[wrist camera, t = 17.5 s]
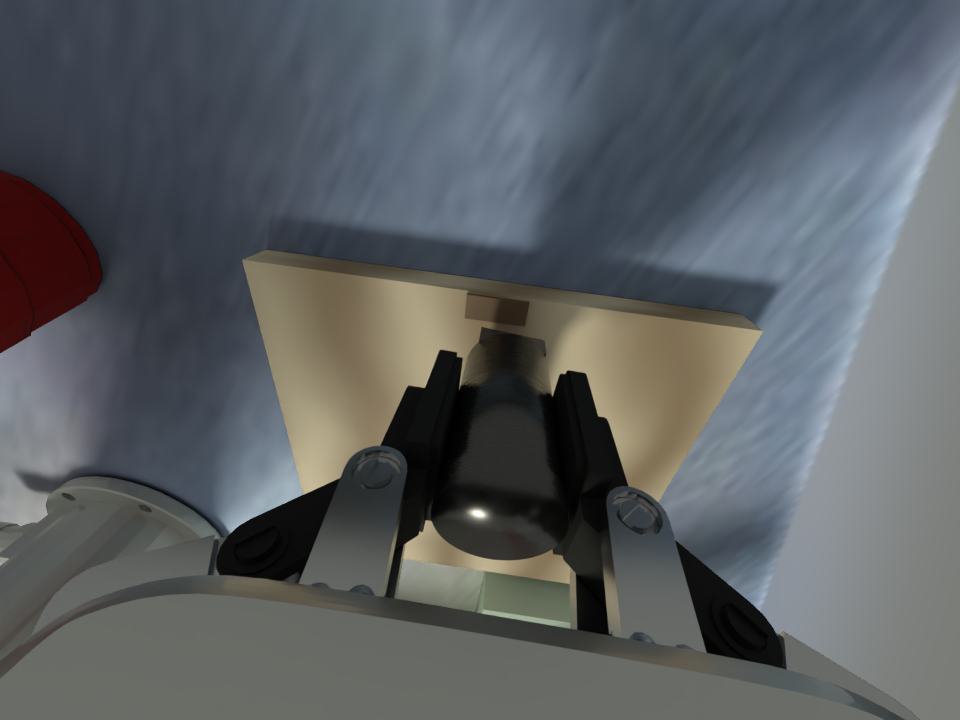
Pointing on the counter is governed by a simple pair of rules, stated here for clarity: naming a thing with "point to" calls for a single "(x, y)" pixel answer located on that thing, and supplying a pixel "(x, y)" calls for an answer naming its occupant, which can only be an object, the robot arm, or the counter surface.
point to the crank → (502, 455)
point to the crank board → (456, 327)
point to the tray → (525, 599)
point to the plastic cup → (39, 261)
